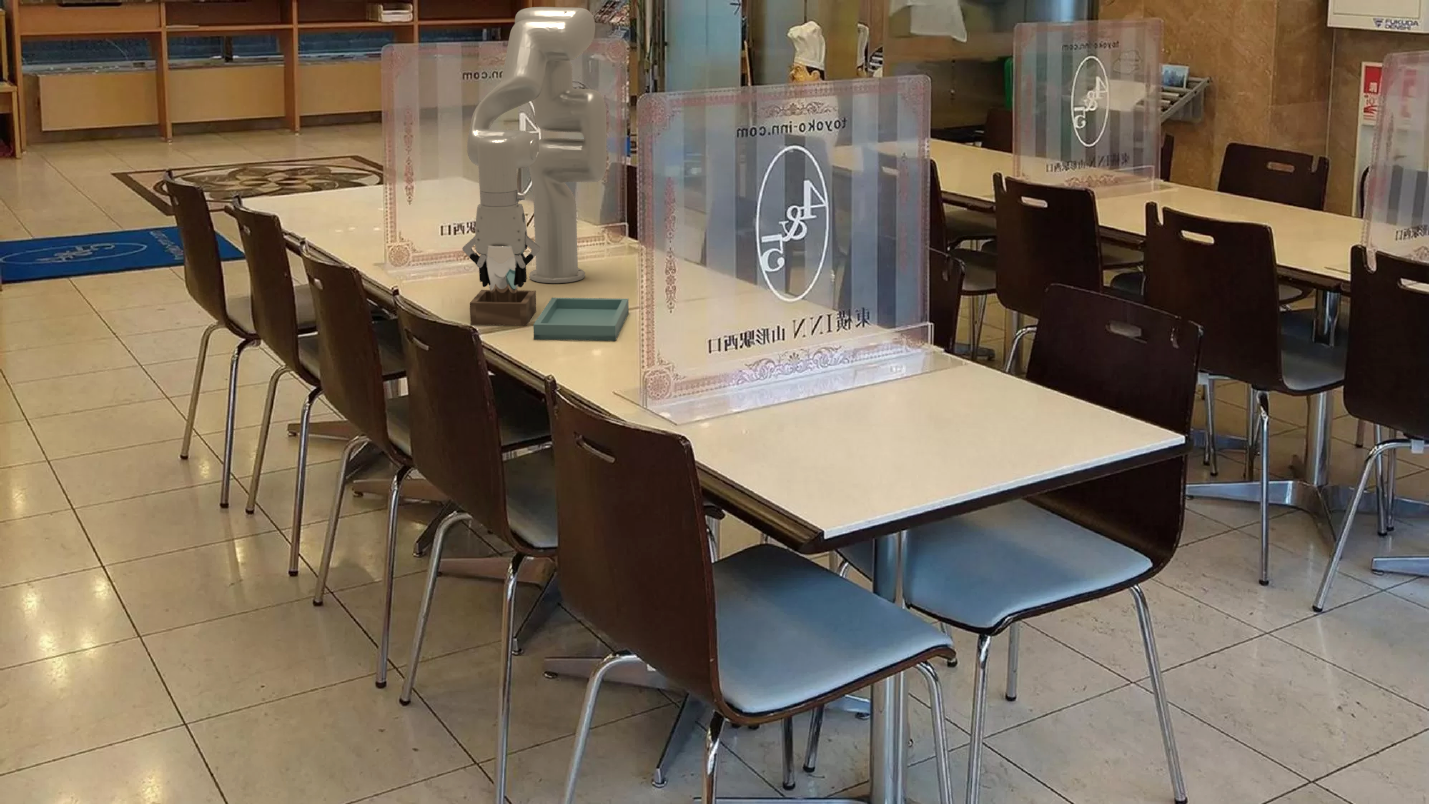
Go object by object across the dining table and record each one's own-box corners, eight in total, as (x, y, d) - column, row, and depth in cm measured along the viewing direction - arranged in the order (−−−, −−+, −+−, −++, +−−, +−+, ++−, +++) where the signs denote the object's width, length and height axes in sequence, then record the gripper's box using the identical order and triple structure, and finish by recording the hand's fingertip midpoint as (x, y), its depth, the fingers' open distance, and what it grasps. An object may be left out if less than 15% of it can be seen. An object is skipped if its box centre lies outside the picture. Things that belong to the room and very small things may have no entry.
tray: (552, 311, 312) (551, 297, 311) (628, 312, 311) (628, 298, 310) (533, 339, 291) (533, 324, 290) (615, 340, 290) (615, 325, 289)
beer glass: (515, 319, 303) (512, 247, 298) (483, 317, 304) (479, 245, 299) (526, 310, 309) (523, 239, 304) (494, 309, 311) (491, 238, 306)
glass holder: (482, 310, 312) (481, 289, 311) (536, 311, 311) (535, 290, 310) (470, 324, 301) (469, 303, 300) (526, 325, 301) (525, 304, 299)
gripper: (545, 195, 302) (548, 281, 308) (460, 195, 303) (465, 280, 309) (538, 202, 295) (542, 290, 301) (452, 202, 296) (457, 289, 302)
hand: (503, 284), depth 305 cm, fingers closed on beer glass, 6 cm apart
